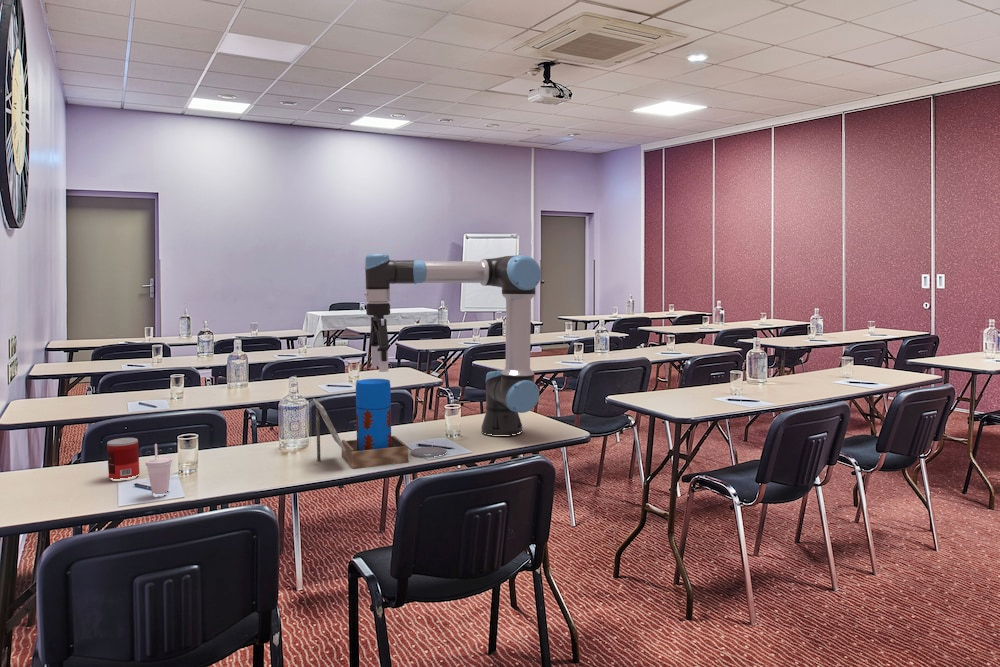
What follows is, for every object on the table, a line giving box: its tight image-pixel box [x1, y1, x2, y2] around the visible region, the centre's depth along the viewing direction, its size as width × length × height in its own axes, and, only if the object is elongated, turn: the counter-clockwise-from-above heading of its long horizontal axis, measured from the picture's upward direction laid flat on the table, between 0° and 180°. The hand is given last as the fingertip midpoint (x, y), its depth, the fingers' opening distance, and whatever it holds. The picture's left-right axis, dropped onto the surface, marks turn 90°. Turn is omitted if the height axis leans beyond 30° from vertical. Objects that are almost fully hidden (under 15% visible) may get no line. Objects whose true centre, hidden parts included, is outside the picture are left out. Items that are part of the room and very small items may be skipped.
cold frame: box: [312, 398, 409, 470], centre depth 222 cm, size 26×16×20 cm, turn 114°
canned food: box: [106, 437, 140, 479], centre depth 204 cm, size 8×8×11 cm
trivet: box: [409, 446, 448, 459], centre depth 232 cm, size 12×12×1 cm
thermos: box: [355, 378, 392, 451], centre depth 223 cm, size 11×11×25 cm
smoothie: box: [145, 443, 173, 494], centre depth 188 cm, size 6×6×14 cm
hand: (379, 368), depth 227 cm, fingers open, 13 cm apart
